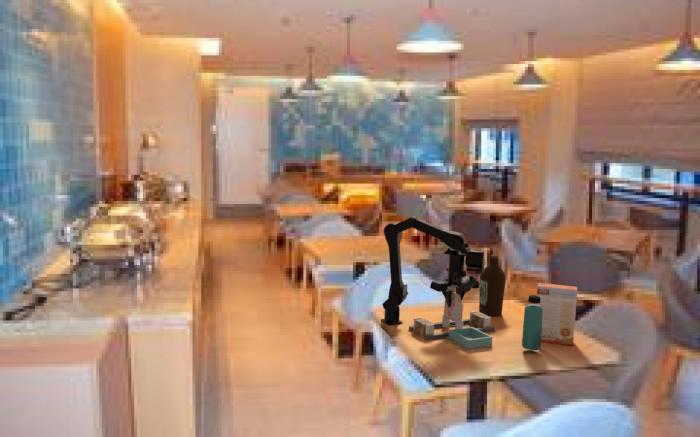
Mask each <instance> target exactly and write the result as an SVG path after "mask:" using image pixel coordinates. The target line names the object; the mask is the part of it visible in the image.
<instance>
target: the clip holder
mask: <svg viewBox="0 0 700 437" xmlns="http://www.w3.org/2000/svg"><path fill="white" fill-rule="evenodd" d="M478 312H479V310H478V311H477V310H472V311H469V318H466V319H463V318H462V320H461V321H452V320H450V319H448V318H446V317H445V316H444V314H442V318H441V319H442V321H439V322H432V323H433V324H428V325H426V335H424V337H423V339H424V340H426V341H431V340H432V341H433V340H437V339H438V340H439V339H446V338H445V337H447V338H449V331H445V332H438V333H434V332H435V329H437V328H439V327H440V328H442V327H446V328H450V327H453V326H452V325H455V326H454V329H459V328H464V325H471V316H472V313H478ZM418 319H423V318H422V317H420V316H419V317H414V318H413V324H412V325H409V326H408V330H409V331H410V332H414V331H415V320H418ZM463 324H464V325H463ZM474 328H475V327H474ZM475 329H477V330H479V331H481V332H483V333H491V332H496V326H493V325H492V316H489V317H486V318H484V320H483V327H482V328H475Z"/></svg>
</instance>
